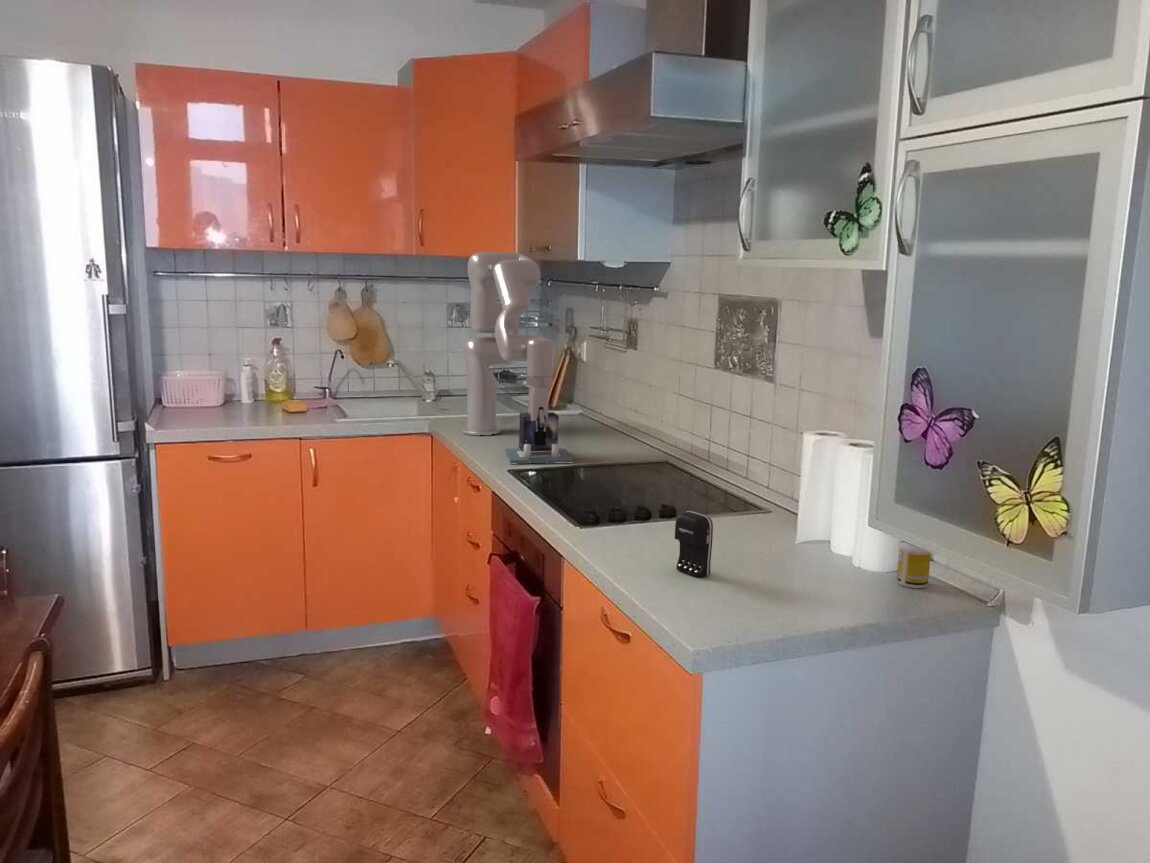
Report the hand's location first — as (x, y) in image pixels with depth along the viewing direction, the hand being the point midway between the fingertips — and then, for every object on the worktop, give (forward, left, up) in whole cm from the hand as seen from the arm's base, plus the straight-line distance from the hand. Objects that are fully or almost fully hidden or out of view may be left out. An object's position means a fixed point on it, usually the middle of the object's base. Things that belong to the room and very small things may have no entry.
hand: (538, 441), depth 264 cm
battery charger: (+101, +16, -5) cm, 103 cm away
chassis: (0, 0, -5) cm, 5 cm away
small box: (0, 0, -2) cm, 2 cm away
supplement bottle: (+111, +55, -5) cm, 124 cm away
